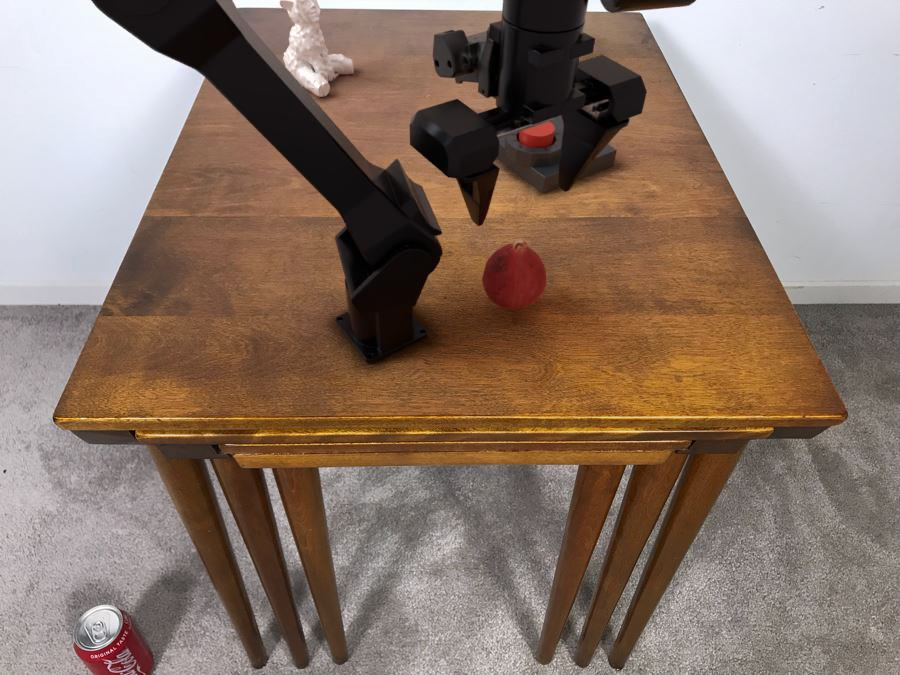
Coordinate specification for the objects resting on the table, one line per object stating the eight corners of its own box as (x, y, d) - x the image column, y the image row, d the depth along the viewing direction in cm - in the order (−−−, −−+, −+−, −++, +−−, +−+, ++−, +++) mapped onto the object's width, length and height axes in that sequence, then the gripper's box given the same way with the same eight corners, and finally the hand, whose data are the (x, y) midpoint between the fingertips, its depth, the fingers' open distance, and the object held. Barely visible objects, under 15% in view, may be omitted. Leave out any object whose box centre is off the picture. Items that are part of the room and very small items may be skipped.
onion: (491, 332, 66) (497, 266, 60) (473, 292, 70) (477, 226, 64) (550, 321, 67) (561, 255, 61) (529, 282, 71) (538, 216, 65)
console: (613, 165, 86) (619, 136, 83) (536, 196, 81) (540, 166, 78) (540, 116, 94) (543, 87, 91) (466, 141, 89) (467, 112, 86)
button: (560, 143, 83) (562, 129, 81) (533, 153, 81) (534, 139, 80) (538, 128, 85) (540, 115, 84) (511, 137, 83) (512, 124, 82)
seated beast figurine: (323, 100, 96) (313, 8, 87) (269, 87, 98) (253, -4, 90) (357, 71, 102) (351, -17, 93) (305, 59, 104) (294, -28, 96)
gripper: (570, -43, 57) (546, 133, 68) (366, 3, 50) (377, 192, 61) (672, 4, 51) (628, 189, 62) (456, 65, 43) (449, 263, 54)
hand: (521, 205), depth 60 cm, fingers open, 9 cm apart
